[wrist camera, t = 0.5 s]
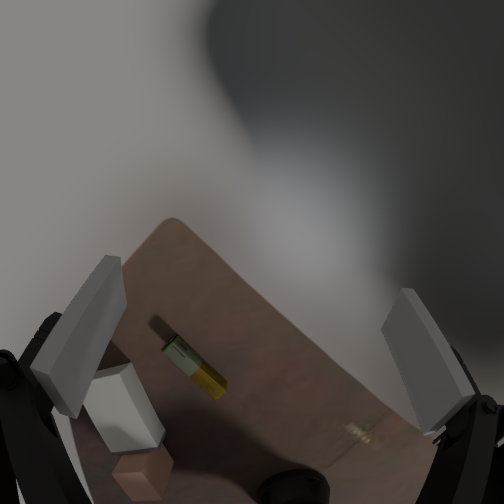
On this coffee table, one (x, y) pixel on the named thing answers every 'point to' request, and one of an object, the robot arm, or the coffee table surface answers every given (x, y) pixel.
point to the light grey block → (123, 411)
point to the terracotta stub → (144, 474)
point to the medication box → (195, 366)
